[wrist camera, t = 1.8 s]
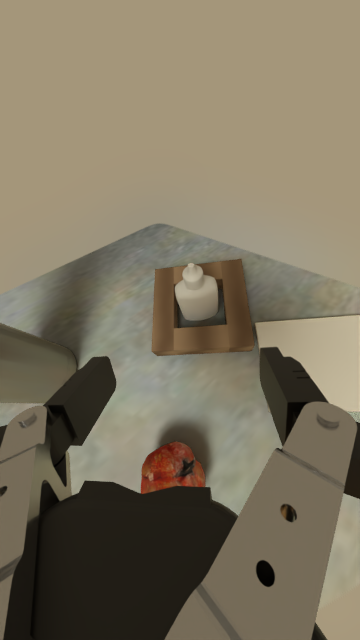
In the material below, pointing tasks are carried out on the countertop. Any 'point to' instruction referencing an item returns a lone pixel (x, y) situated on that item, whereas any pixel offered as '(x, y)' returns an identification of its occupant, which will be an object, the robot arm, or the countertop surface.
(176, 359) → the countertop surface
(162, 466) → the pomegranate
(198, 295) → the eye dropper bottle
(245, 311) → the walnut socket stand
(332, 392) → the off-white tile
